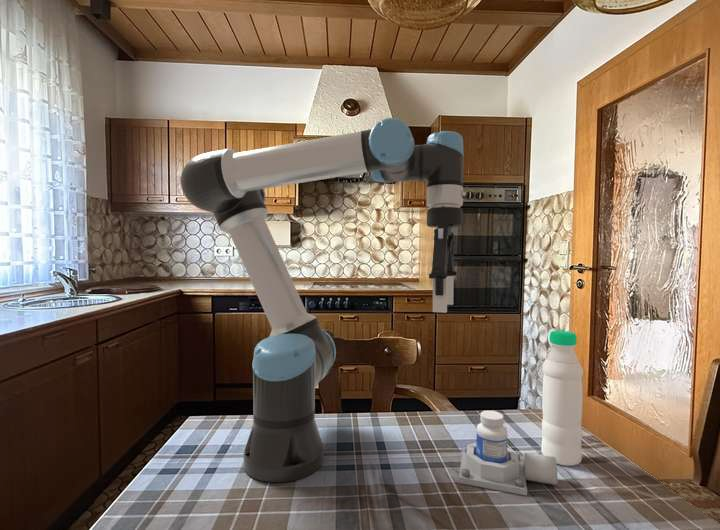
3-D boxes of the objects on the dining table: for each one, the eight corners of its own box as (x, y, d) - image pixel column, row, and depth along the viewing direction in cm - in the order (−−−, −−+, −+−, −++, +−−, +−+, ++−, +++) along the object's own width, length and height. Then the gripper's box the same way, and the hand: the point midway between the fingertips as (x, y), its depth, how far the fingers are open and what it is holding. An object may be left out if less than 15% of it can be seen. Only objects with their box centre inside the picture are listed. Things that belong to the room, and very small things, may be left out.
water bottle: (587, 469, 72) (589, 336, 71) (546, 465, 73) (548, 334, 73) (574, 451, 79) (576, 329, 78) (537, 447, 80) (539, 327, 80)
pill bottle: (477, 457, 74) (478, 406, 74) (507, 463, 72) (508, 411, 72) (474, 471, 69) (475, 417, 69) (506, 478, 67) (507, 422, 67)
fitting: (458, 483, 67) (459, 458, 67) (462, 453, 78) (463, 431, 78) (560, 502, 62) (561, 475, 62) (550, 467, 73) (550, 444, 72)
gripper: (458, 198, 68) (457, 317, 69) (466, 214, 92) (465, 302, 92) (416, 200, 71) (415, 315, 71) (434, 215, 95) (434, 301, 95)
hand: (443, 308), depth 82 cm, fingers open, 13 cm apart
